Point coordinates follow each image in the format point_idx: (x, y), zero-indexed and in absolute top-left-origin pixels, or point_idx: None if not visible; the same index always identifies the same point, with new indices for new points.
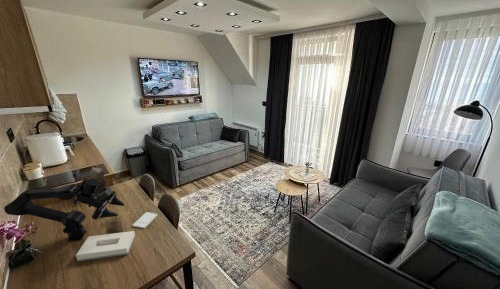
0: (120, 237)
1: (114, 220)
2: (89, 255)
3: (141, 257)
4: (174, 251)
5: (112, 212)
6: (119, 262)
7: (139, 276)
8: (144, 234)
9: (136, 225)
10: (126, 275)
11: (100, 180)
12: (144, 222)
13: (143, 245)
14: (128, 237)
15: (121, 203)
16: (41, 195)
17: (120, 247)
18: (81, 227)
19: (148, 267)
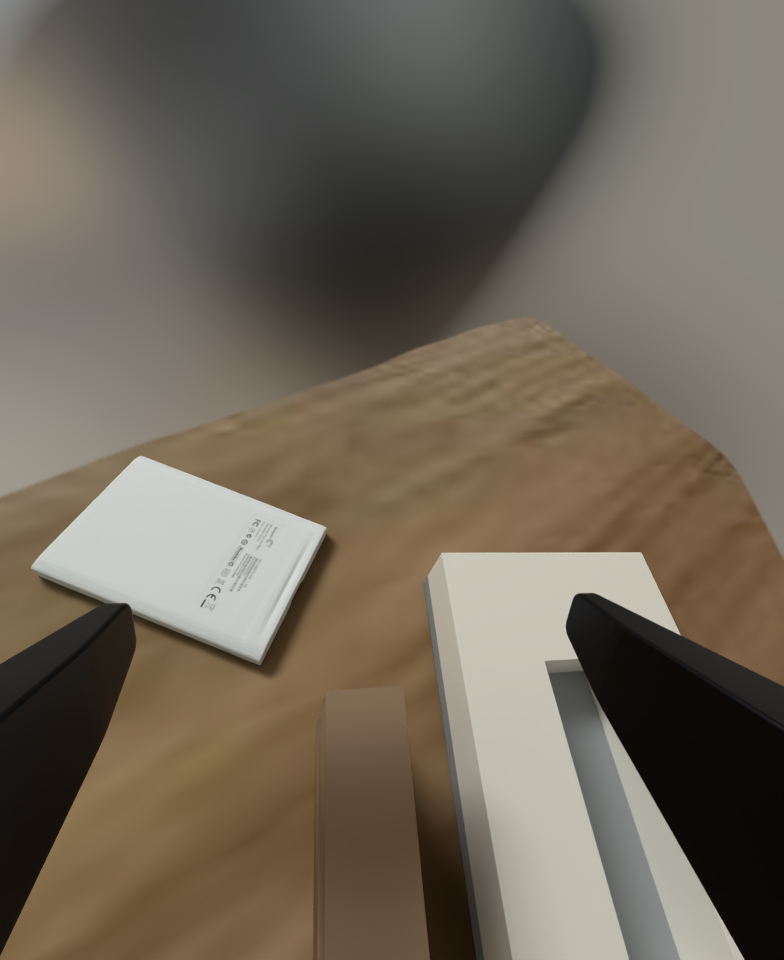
0: (539, 660)
1: (389, 832)
2: None
3: (602, 491)
4: (535, 360)
5: (732, 672)
6: (673, 615)
7: (705, 476)
8: (401, 517)
9: (278, 605)
10: (727, 538)
11: None
12: (249, 537)
13: (511, 500)
14: (530, 576)
15: (84, 664)
16: None
17: (649, 605)
18: None
19: (648, 448)
